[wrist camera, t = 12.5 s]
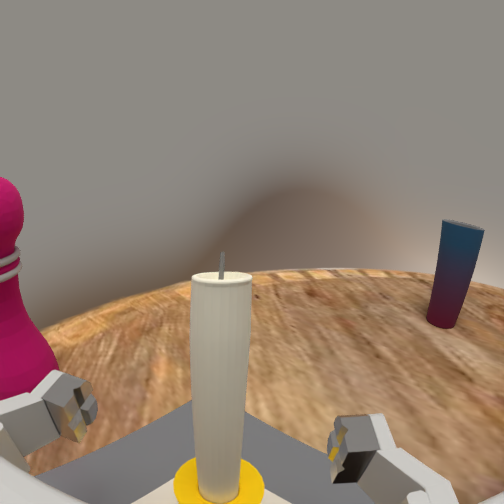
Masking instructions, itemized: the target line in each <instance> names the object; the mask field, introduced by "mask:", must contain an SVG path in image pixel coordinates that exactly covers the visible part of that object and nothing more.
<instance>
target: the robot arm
mask: <svg viewBox="0 0 504 504" xmlns="http://www.w3.org/2000/svg"><path fill="white" fill-rule="evenodd" d="M92 391H93V388H92V385H91V383H90V382H89V381H86V380H83V379H81V378H78V377H75V376H72V375H69V374H67V373H63V372H61V371H58V370H52V371H51V372H50V373H49V374H48V375H47V376H46V377H45V378H44V379H43V380H42V381H41V382H40V383H39V384H38V385H37V386H36V388H35V389H34V390H33V391H32V392H31V393H27V392H26V393H23V394H20V395H17V396H14V397H11V398H8V399H4V400H1V401H0V504H88V503H86V502H84V501H81V500H79V499H77V498H75V497H72V496H70V495H68V494H66V493H64V492H62V491H60V490H58V489H56V488H54V487H52V486H50V485H48V484H46V483H44V482H42V481H41V480H39V479H37V478H35V477H34V476H32V475H30V474H28V472H29V471H30V466H29V464H28V463H27V462H26V460H25V459H24V456H26V455H28V454H30V453H32V452H34V451H36V450H38V449H39V448H41V447H43V446H45V445H47V444H49V443H50V442H52V441H54V440H56V439H58V438H59V437H60V436H62V437H64V438H67V439H69V440H72V441H74V442H77V443H80V442H81V440H82V439H83V437H84V435H85V434H86V432H87V427H86V426H87V425H89V424H91V423H93V421H94V420H95V418H96V415H97V411H98V408H97V401H96V399H95V398H94V397H93V395H92V394H91V392H92ZM334 428H335V430H333V431H332V432H330V435H329V438H328V445H327V453H328V458H329V459H330V460H331V461H332V464H331V467H330V474H331V481H332V484H341V483H357V482H358V483H357V484H358V485H359V486H360V487H361V489H362V490H363V491H364V492H365V493H366V494H367V495H368V496H369V497H370V498H371V499H372V500H373V501H374V502H375V503H376V504H459V503H458V500H457V498H456V495H455V493H454V491H453V488H452V486H451V484H450V481H448V480H447V479H445V478H443V477H442V476H440V475H439V474H438V473H436V472H435V471H433V470H432V469H430V468H429V467H427V466H426V465H424V464H423V463H421V462H420V461H419V460H417V459H416V458H414V457H413V456H411V455H410V454H409V453H407V452H406V451H404V450H403V449H402V448H396V445H395V443H394V440H393V437H392V435H391V432H390V430H389V427H388V424H387V422H386V419H385V417H384V415H383V414H382V413H380V414H367V415H366V414H365V415H345V416H337V417H336V419H335V422H334ZM478 504H504V491H503V492H501V493H499V494H497V495H495V496H493V497H491V498H489V499H487V500H484V501H482V502H480V503H478Z"/></svg>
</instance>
